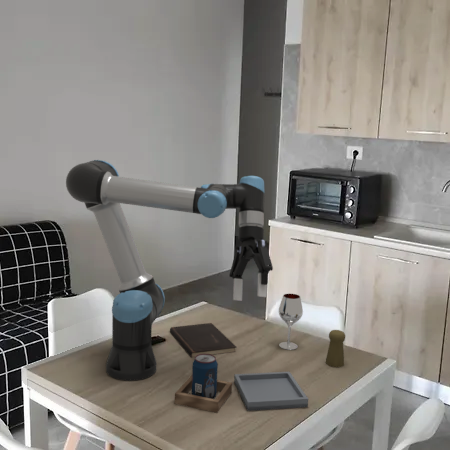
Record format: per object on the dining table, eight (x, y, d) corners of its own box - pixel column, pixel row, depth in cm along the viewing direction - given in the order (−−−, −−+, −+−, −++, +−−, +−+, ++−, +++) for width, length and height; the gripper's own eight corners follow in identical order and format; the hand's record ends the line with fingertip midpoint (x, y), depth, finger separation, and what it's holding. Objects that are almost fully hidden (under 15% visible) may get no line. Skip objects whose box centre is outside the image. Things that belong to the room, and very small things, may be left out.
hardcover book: (211, 328, 218) (211, 322, 217) (236, 353, 197) (236, 346, 196) (169, 333, 211) (169, 327, 211) (191, 359, 191) (191, 352, 190)
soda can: (199, 389, 169) (201, 350, 167) (220, 396, 166) (222, 356, 163) (186, 399, 163) (188, 359, 161) (208, 406, 160) (210, 365, 157)
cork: (346, 361, 193) (349, 330, 190) (341, 368, 187) (344, 336, 185) (328, 357, 195) (330, 326, 193) (323, 364, 190) (325, 332, 187)
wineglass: (294, 353, 198) (297, 301, 194) (272, 347, 202) (275, 296, 198) (304, 345, 205) (307, 295, 201) (282, 339, 209) (286, 291, 205)
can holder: (174, 403, 160) (174, 393, 160) (191, 384, 172) (191, 374, 171) (217, 412, 157) (217, 402, 156) (231, 392, 168) (232, 382, 168)
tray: (247, 410, 158) (248, 402, 158) (234, 382, 175) (234, 374, 174) (307, 407, 162) (308, 398, 161) (289, 379, 178) (289, 371, 178)
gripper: (285, 221, 168) (284, 296, 163) (240, 236, 189) (238, 302, 184) (263, 217, 164) (261, 293, 159) (220, 233, 185) (217, 300, 180)
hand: (249, 298), depth 172 cm, fingers open, 13 cm apart
